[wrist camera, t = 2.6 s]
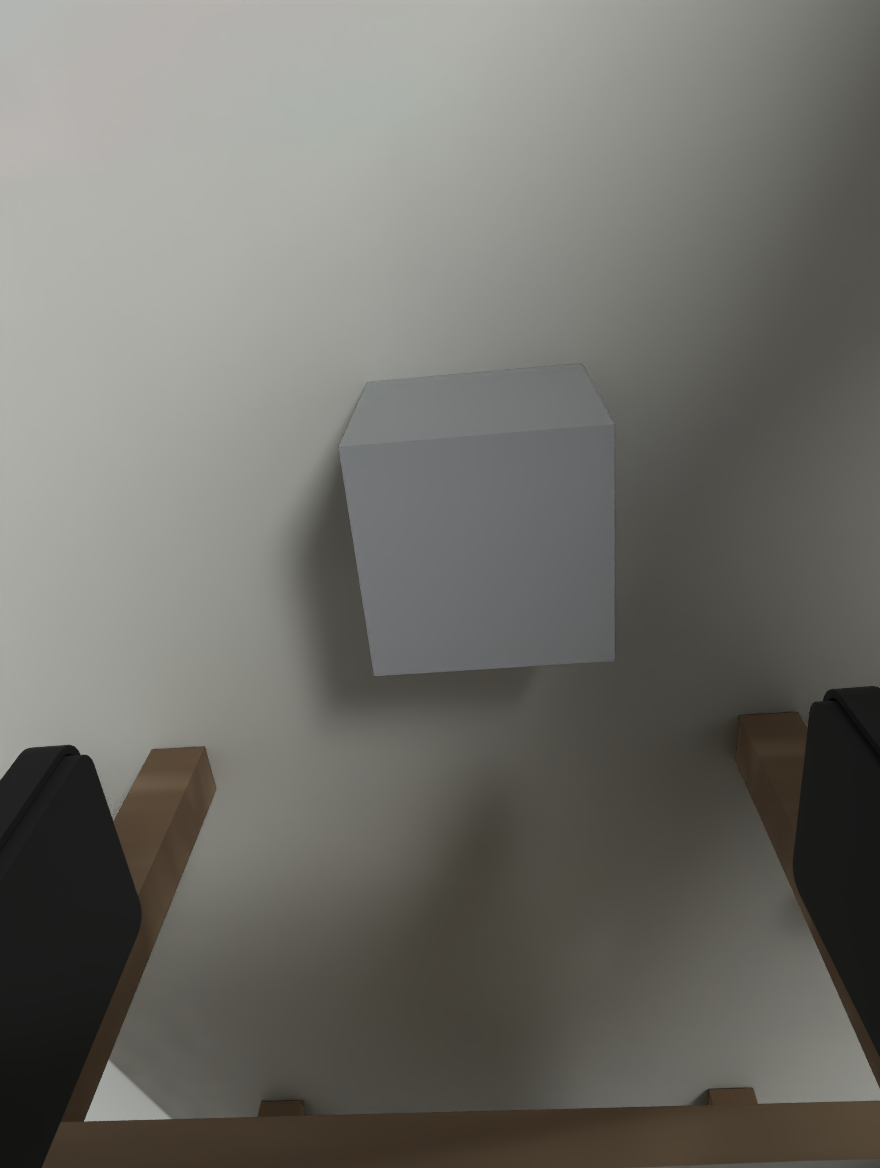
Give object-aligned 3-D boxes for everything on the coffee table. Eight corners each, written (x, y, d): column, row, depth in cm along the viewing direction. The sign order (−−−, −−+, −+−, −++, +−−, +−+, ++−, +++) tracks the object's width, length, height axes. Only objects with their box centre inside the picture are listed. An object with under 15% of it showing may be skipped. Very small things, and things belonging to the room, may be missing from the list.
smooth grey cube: (367, 381, 20) (338, 446, 15) (581, 362, 19) (614, 423, 15) (393, 571, 22) (374, 676, 18) (585, 557, 22) (614, 660, 17)
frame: (151, 749, 25) (-88, 1198, 14) (797, 711, 24) (1070, 1175, 13) (268, 1126, 33) (173, 1587, 22) (749, 1114, 32) (891, 1597, 21)
